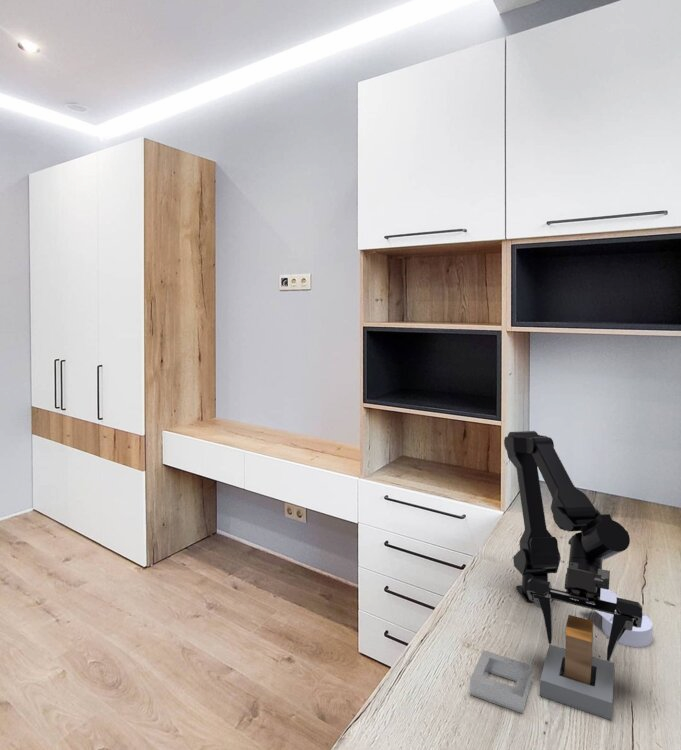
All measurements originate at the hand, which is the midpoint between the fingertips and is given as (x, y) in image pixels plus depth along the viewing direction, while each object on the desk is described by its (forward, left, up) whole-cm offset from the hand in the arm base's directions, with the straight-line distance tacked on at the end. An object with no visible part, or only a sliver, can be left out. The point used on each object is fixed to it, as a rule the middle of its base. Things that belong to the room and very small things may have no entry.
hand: (578, 651), depth 86 cm
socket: (-1, +1, -8) cm, 8 cm away
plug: (-1, +1, -8) cm, 8 cm away
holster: (-2, -13, -8) cm, 15 cm away
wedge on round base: (-17, +19, -8) cm, 27 cm away
